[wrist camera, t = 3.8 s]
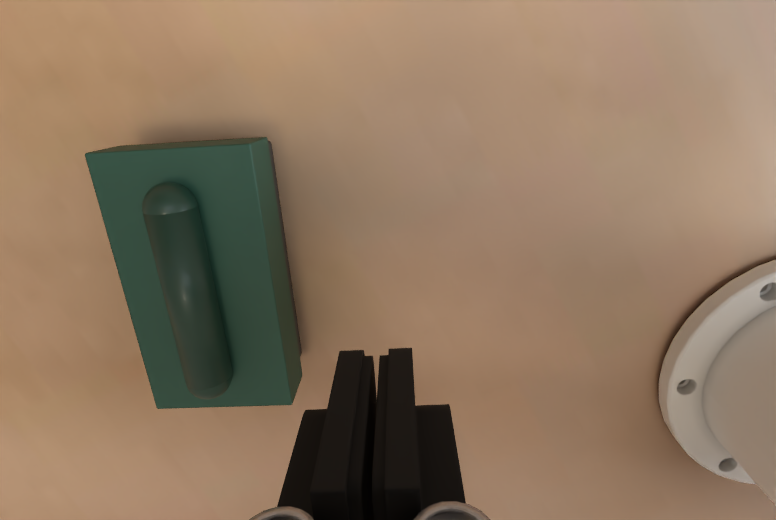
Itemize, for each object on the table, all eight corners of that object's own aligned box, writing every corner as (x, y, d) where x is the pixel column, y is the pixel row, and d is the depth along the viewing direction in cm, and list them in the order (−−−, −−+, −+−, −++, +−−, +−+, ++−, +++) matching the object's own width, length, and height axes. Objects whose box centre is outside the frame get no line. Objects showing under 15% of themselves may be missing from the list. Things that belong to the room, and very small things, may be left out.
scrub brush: (277, 133, 20) (235, 148, 15) (308, 358, 23) (283, 429, 19) (139, 141, 20) (53, 159, 15) (192, 362, 24) (138, 433, 19)
